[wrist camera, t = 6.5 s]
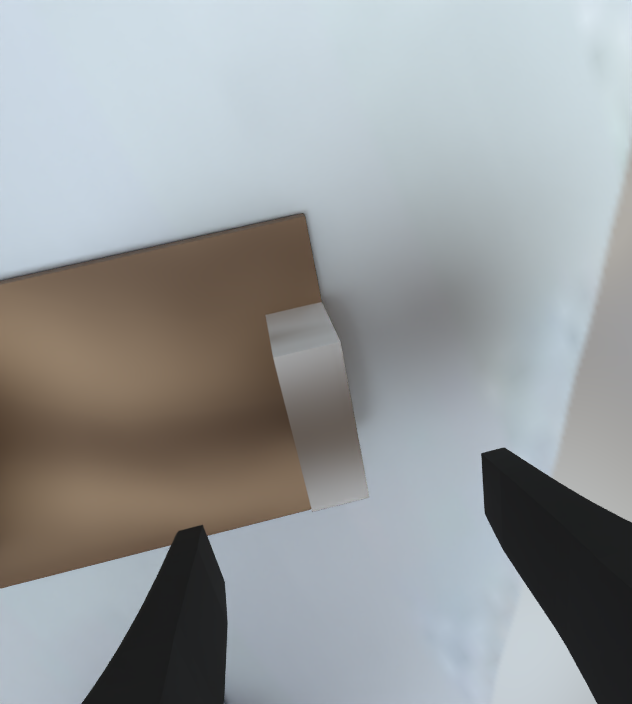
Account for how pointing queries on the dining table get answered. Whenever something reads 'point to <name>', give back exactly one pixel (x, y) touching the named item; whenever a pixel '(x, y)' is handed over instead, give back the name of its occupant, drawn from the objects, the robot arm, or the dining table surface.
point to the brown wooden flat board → (168, 399)
